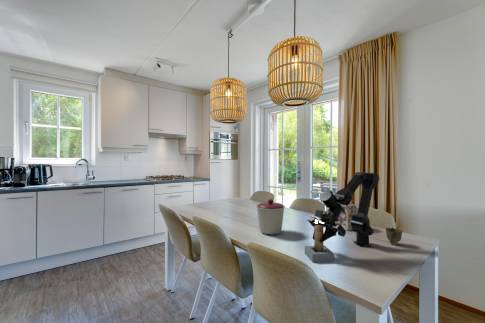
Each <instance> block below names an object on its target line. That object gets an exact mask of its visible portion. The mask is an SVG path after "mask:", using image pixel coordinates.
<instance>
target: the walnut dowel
mask: <svg viewBox="0 0 485 323" xmlns="http://www.w3.org/2000/svg"><path fill="white" fill-rule="evenodd" d="M313 233H314V240H313V242H314V244H313V246H314V251H315V252H323V246H324V242H322V243H321V242H320V239H321V237H322V235H323V234H324V227H323V226H321V225H315V226H314V227H313Z"/></svg>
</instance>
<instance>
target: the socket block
mask: <svg viewBox="0 0 485 323" xmlns="http://www.w3.org/2000/svg"><path fill="white" fill-rule="evenodd" d="M304 255H305V256H306V257H307V258H308V259H309V260H310V261H311V263H330V262H331V263H332V262H333V263H334V262H335V253H334V252H333V251H332V250H331V249H329V248H328V247H327V246H326V245H324V244H323V252H315V251H314V245H305V246H304Z"/></svg>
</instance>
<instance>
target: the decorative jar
mask: <svg viewBox="0 0 485 323" xmlns="http://www.w3.org/2000/svg"><path fill="white" fill-rule="evenodd" d="M341 206H342V207H344V210H345V213H343V212H341V214H340V215H339V217H338V220H339V221H338V222H335V223H336V224H340V225H342V227H343V228H344V229H345V231H346V232H347V231H348V232H349V231H353V230H352V226H351V221H352V216H353V215H356V214H357V212H358V208H359V207H357V206H356V205H355V204H353V203H351V202H350V204H349V205H342V204H341Z"/></svg>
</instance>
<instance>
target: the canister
mask: <svg viewBox="0 0 485 323" xmlns="http://www.w3.org/2000/svg"><path fill="white" fill-rule="evenodd" d="M255 208H256V209H257V210H256V211H257V218H258V219H257V220H258V225H259V226H258V227H259V231H260V232H261V233H262V234H264V235H271V236H272V235H278V234H280V233H281V232H282V228H283V224H284V222H283V221H284V215H285V214H284V211H285V209H286V206H285V205H283V204H282V203H280V202H274V200H273V198H269V199H268V200H267V201H266V202H260V203H258V204H256V206H255Z"/></svg>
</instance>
